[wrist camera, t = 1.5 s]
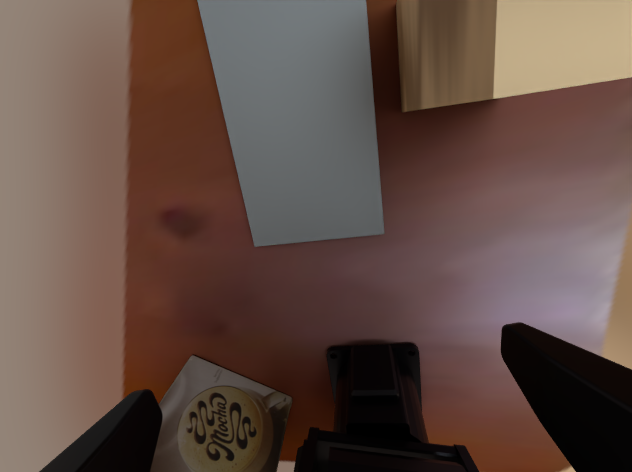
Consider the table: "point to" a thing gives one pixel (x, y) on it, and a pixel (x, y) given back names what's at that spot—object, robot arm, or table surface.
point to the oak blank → (508, 47)
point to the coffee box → (220, 422)
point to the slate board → (299, 115)
